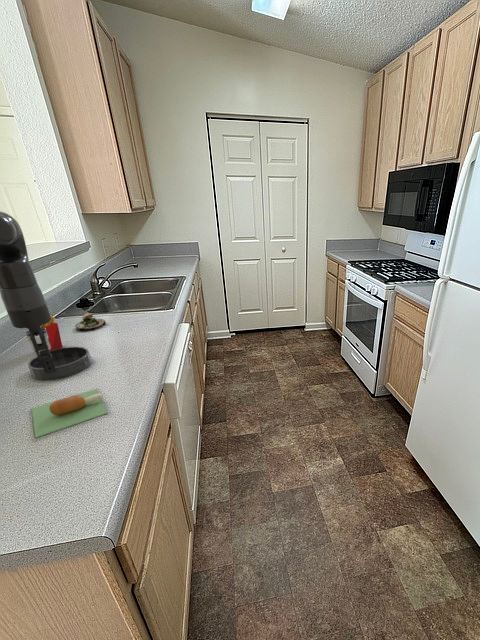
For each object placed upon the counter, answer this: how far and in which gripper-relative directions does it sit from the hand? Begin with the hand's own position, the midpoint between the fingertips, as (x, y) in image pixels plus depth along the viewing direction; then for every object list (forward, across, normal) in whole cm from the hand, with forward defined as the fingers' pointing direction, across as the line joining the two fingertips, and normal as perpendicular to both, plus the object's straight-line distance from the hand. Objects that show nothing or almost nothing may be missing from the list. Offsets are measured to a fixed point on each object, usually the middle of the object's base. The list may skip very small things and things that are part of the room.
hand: (49, 366), depth 85 cm
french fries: (+15, -52, +1) cm, 54 cm away
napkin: (+14, 0, +1) cm, 14 cm away
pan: (+14, -32, +3) cm, 35 cm away
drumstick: (+14, 0, +2) cm, 14 cm away
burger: (+14, -71, +18) cm, 74 cm away
